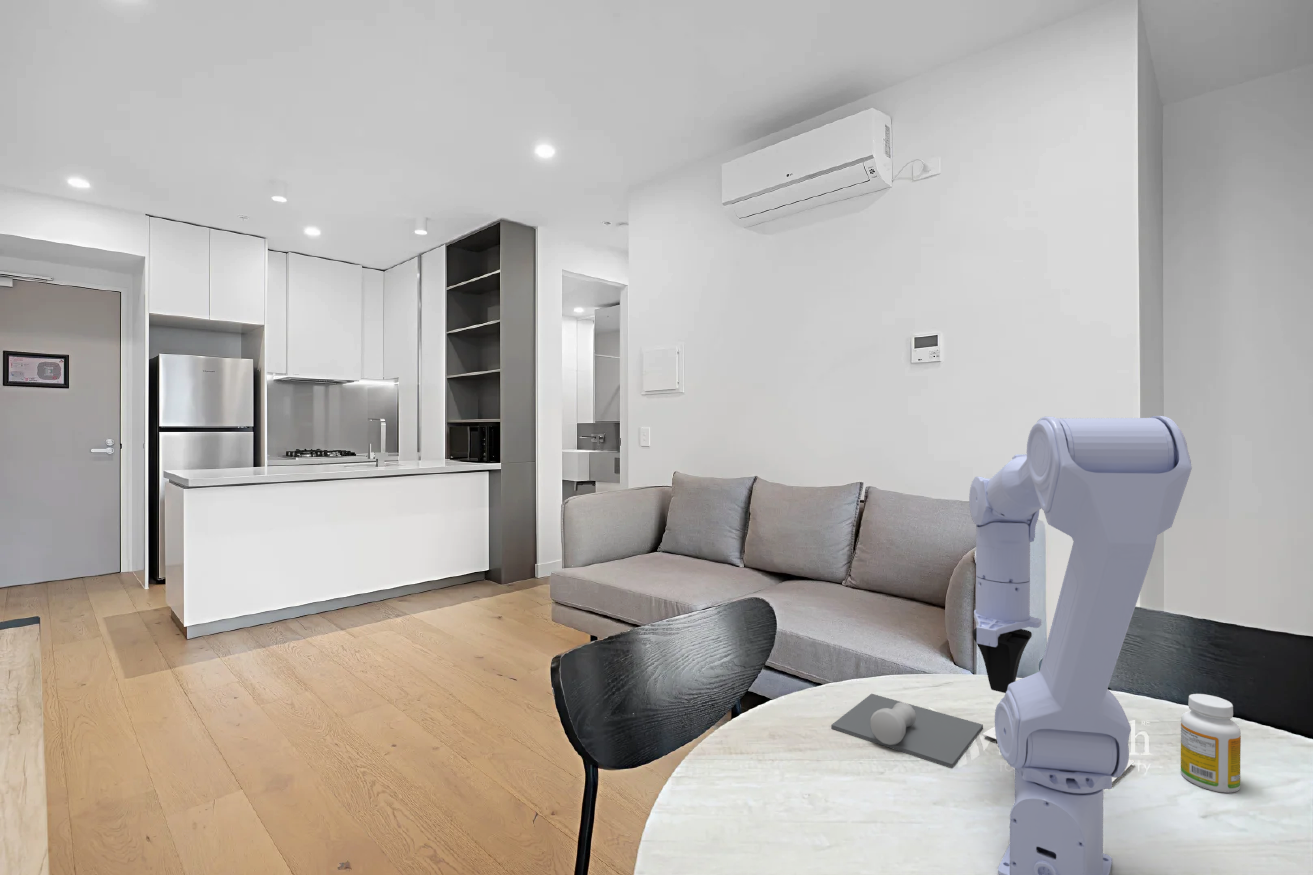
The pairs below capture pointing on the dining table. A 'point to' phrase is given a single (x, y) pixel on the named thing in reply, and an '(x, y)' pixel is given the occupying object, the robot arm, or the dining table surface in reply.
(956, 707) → the dining table surface
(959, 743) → the mat
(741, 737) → the dining table surface
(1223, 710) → the supplement bottle
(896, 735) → the rook chess piece
